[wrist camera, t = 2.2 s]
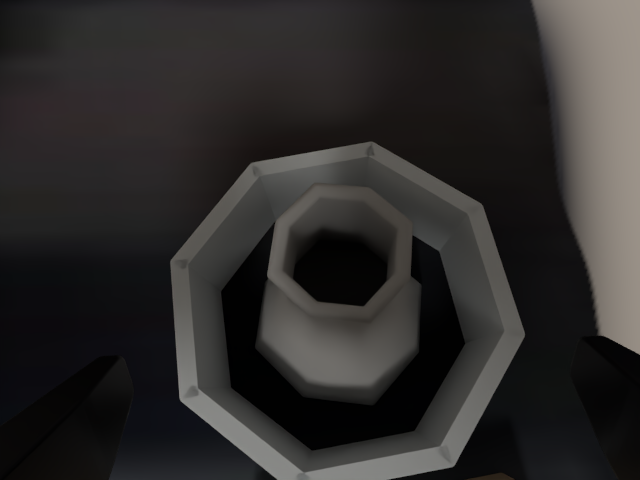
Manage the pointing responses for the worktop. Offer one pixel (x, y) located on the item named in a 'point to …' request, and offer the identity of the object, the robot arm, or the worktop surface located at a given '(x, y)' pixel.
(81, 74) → the worktop surface
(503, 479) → the oak board
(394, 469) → the collar
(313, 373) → the flask
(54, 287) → the worktop surface
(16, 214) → the worktop surface
